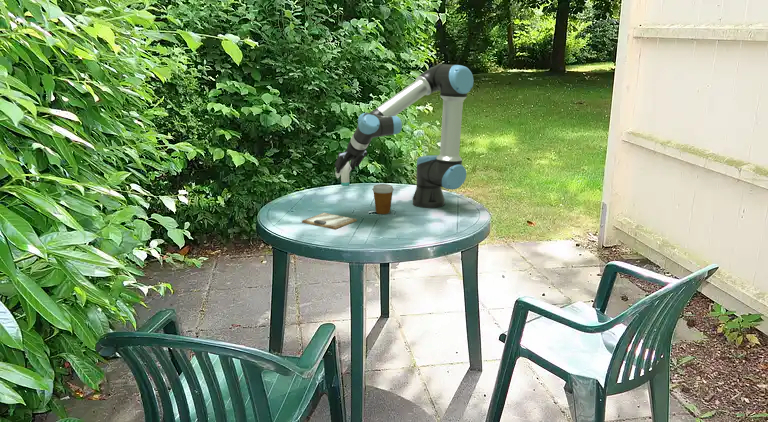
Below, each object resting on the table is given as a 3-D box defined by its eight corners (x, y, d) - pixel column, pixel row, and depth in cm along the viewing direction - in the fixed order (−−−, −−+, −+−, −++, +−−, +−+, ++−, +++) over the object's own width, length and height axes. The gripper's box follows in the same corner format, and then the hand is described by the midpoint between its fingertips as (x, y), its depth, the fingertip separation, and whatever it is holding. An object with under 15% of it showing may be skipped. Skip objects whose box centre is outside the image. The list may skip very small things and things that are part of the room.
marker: (351, 184, 274) (350, 155, 271) (346, 186, 271) (345, 157, 268) (344, 183, 276) (343, 154, 273) (339, 185, 273) (338, 156, 270)
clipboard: (356, 220, 268) (356, 216, 267) (335, 229, 256) (335, 225, 255) (324, 214, 277) (323, 210, 277) (302, 222, 265) (301, 218, 265)
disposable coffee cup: (391, 215, 275) (391, 189, 272) (370, 214, 277) (370, 188, 274) (395, 210, 284) (395, 184, 281) (375, 208, 286) (374, 183, 283)
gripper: (344, 153, 252) (327, 184, 270) (379, 148, 260) (360, 179, 279) (337, 138, 255) (321, 170, 273) (372, 134, 263) (354, 166, 282)
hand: (341, 175), depth 276 cm, fingers closed on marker, 3 cm apart
